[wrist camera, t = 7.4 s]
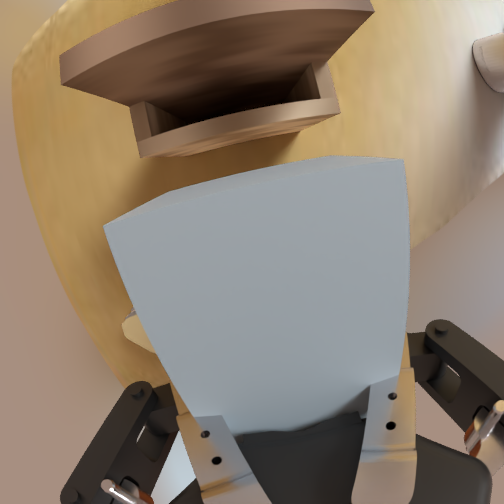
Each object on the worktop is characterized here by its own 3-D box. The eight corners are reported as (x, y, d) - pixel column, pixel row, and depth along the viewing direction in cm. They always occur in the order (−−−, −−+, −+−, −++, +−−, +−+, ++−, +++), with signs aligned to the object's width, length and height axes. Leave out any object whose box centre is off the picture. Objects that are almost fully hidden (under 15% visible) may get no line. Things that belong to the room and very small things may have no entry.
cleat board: (289, 87, 24) (361, -16, 6) (300, 131, 26) (401, 89, 7) (176, 113, 25) (59, 55, 6) (186, 156, 27) (73, 163, 8)
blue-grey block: (300, 155, 14) (403, 159, 4) (325, 314, 17) (380, 448, 7) (196, 178, 14) (102, 225, 4) (240, 332, 17) (237, 477, 8)
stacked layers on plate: (162, 256, 31) (147, 276, 26) (216, 307, 33) (211, 333, 28) (118, 304, 33) (101, 326, 28) (166, 346, 35) (157, 373, 30)
